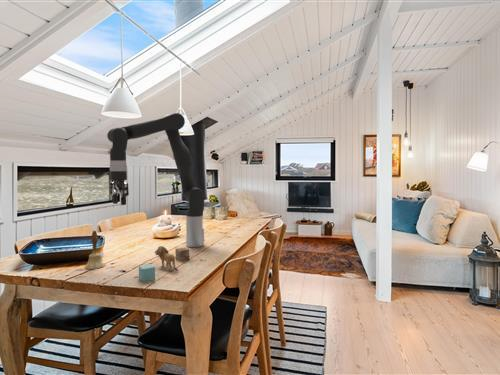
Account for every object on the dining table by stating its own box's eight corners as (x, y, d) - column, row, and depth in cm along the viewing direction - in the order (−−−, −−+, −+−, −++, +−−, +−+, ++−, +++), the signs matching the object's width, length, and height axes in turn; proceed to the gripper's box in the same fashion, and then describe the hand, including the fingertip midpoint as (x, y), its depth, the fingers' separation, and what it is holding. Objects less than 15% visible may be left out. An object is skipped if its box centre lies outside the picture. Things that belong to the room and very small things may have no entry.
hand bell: (81, 266, 139) (80, 231, 138) (100, 262, 145) (100, 228, 144) (89, 270, 133) (88, 233, 132) (108, 266, 139) (108, 231, 138)
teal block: (151, 275, 128) (151, 263, 127) (155, 279, 123) (155, 267, 123) (138, 278, 125) (138, 265, 125) (142, 281, 121) (142, 269, 120)
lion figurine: (153, 266, 140) (153, 246, 140) (163, 263, 144) (163, 244, 144) (173, 273, 131) (173, 252, 130) (183, 270, 135) (183, 249, 134)
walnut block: (185, 257, 155) (185, 247, 155) (189, 259, 151) (189, 249, 150) (175, 258, 152) (175, 248, 152) (179, 261, 148) (179, 251, 148)
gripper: (133, 170, 146) (134, 204, 147) (119, 170, 155) (120, 202, 157) (117, 170, 140) (118, 206, 141) (104, 170, 150) (104, 203, 151)
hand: (119, 204), depth 149 cm, fingers open, 8 cm apart
